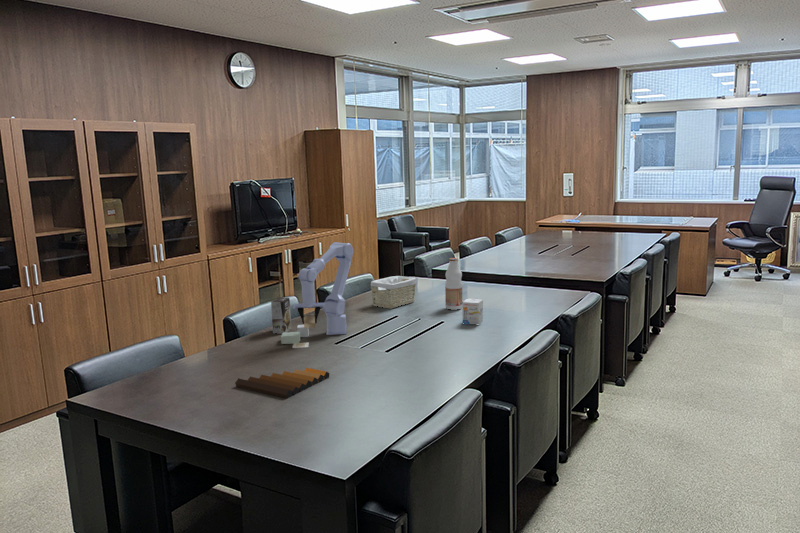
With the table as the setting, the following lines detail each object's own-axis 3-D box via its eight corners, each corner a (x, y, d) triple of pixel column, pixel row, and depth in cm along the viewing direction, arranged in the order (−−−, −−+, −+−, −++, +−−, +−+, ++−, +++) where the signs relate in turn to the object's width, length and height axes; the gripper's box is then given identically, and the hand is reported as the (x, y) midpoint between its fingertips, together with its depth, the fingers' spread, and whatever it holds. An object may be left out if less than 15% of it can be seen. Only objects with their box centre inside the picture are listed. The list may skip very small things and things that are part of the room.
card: (309, 343, 284) (309, 342, 284) (308, 347, 277) (308, 346, 277) (293, 343, 284) (293, 342, 284) (292, 348, 277) (292, 347, 277)
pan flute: (235, 388, 231) (286, 400, 218) (234, 379, 230) (285, 391, 217) (280, 368, 252) (329, 378, 239) (280, 360, 251) (329, 370, 238)
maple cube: (315, 324, 289) (315, 314, 288) (315, 327, 284) (314, 316, 283) (304, 325, 289) (304, 314, 288) (304, 328, 284) (303, 317, 283)
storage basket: (396, 298, 371) (396, 274, 368) (418, 302, 360) (417, 277, 358) (369, 306, 352) (368, 281, 350) (391, 310, 342) (390, 284, 340)
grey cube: (308, 334, 299) (308, 324, 298) (308, 337, 294) (307, 327, 293) (298, 334, 299) (297, 324, 298) (297, 337, 294) (297, 327, 293)
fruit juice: (448, 311, 337) (447, 260, 333) (443, 307, 346) (442, 257, 342) (464, 309, 339) (464, 259, 335) (459, 305, 348) (459, 256, 344)
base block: (300, 339, 291) (300, 331, 291) (299, 343, 283) (298, 335, 283) (283, 339, 291) (282, 332, 290) (281, 344, 283) (281, 336, 282)
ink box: (462, 324, 309) (461, 301, 307) (466, 320, 317) (466, 298, 315) (478, 325, 306) (478, 302, 304) (483, 321, 314) (483, 299, 312)
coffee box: (284, 334, 300) (283, 301, 298) (272, 333, 302) (270, 301, 299) (291, 329, 309) (290, 297, 306) (279, 328, 310) (277, 297, 308)
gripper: (291, 297, 279) (293, 326, 282) (324, 295, 281) (325, 324, 283) (292, 293, 286) (294, 322, 289) (324, 292, 288) (325, 320, 290)
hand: (309, 323), depth 286 cm, fingers closed on maple cube, 5 cm apart
